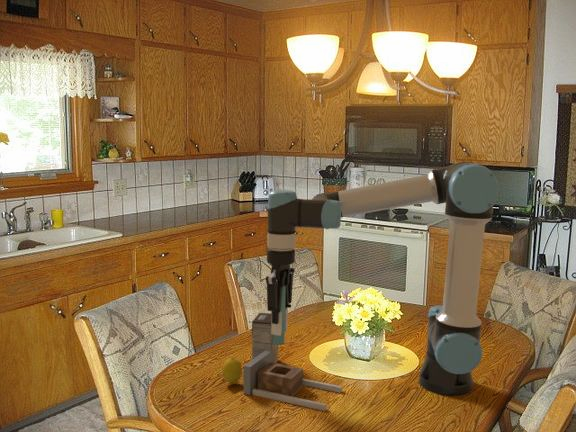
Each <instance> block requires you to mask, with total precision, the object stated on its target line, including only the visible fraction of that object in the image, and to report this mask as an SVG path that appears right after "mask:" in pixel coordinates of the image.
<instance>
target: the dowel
mask: <svg viewBox="0 0 576 432" xmlns="http://www.w3.org/2000/svg"><path fill="white" fill-rule="evenodd" d="M285 296H286V286H284V287H282V297H281V309H280V311H281V312H282V333H281V336H279V335H274V340H273V343H274V344H276V345H278V346H281V345H285V338H286V337H285V335H286V334H285V333H286V332H285Z"/></svg>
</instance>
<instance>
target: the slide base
mask: <svg viewBox="0 0 576 432" xmlns="http://www.w3.org/2000/svg"><path fill="white" fill-rule="evenodd" d="M271 362H272V363H273V350H269V349H266V350H265V351H264V352H262V353H261V354H260V355H258V356H257V357H255V358H254V359H253V360H252V359H251V360H249V361H248V362H246V364H244V365H243V394H244V395H248V396H251V395H252V396H255V397H256V396H257V397H260V398H261V397H262V398H264V399H270V400H274V401H279V402H284V403H287V404H288V403H289V404H292V405H295V406H297V405H298V406H301V407H305V408H308V409H309V408H310V409H314V410H318V411H324V412H325V411H326V410H327V403H322V402H319V401H314V400H310V399H309V400H308V399H305V398H300V397H295V396H293V397H292V396H287V395H283V394H278V393H273V392H269V391H264V390H260V389H258V372H259V371H260V370H261V369H263V368H264V367H265V366H267V365H268V364H269V363H271ZM303 386H306V387H311V388H316V389H321V390H324V391H329V392H335V393H338V394H341V393H342V392H343V386H342V385H336V384H332V383H326V382H321V381H316V380H311V379H306V378H303Z"/></svg>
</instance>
